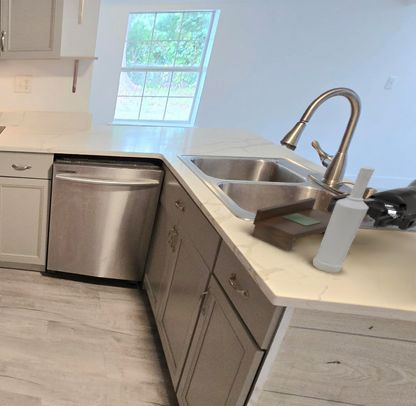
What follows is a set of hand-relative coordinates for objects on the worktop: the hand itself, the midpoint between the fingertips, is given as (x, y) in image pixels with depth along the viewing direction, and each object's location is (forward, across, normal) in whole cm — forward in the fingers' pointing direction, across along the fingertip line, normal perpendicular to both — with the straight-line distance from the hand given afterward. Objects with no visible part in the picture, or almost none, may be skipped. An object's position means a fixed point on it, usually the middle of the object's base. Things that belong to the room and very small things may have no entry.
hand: (352, 215), depth 83 cm
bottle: (+2, 0, +14) cm, 14 cm away
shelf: (-8, -13, +14) cm, 20 cm away
